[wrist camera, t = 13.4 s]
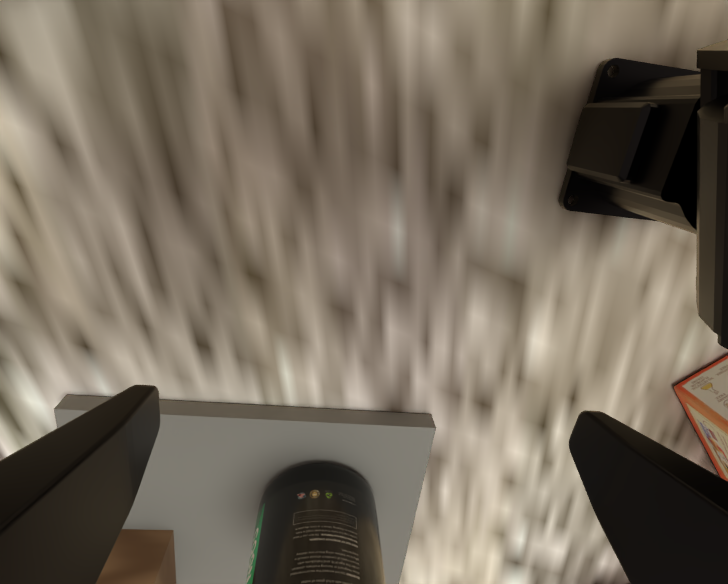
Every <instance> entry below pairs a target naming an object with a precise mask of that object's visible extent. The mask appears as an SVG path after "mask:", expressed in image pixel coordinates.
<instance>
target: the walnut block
mask: <svg viewBox="0 0 728 584" xmlns="http://www.w3.org/2000/svg"><path fill="white" fill-rule="evenodd" d="M96 584H176V568H175V549H174V531H173V530H141V529H122V530H121V532H120V534H119V536H118V538H117V540H116V542H115V544H114V547H113V549H112V551H111V553H110V555H109V557H108V559H107V561H106V563H105V565H104V568H103V570H102V572H101V574H100V576H99V578H98V580H97V582H96Z"/></svg>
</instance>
